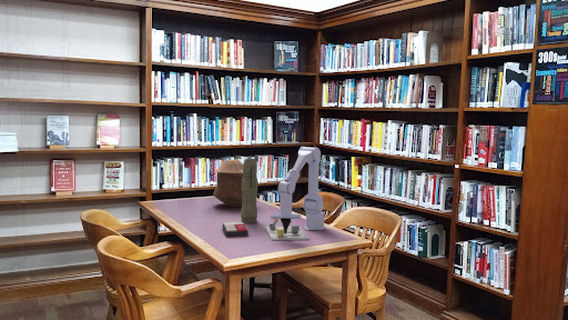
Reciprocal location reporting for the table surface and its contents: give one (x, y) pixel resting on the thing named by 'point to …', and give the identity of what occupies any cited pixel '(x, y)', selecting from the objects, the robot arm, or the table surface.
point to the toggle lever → (275, 222)
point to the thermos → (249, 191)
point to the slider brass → (280, 232)
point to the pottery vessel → (229, 183)
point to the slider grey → (294, 228)
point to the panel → (289, 235)
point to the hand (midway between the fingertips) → (285, 233)
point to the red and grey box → (235, 229)
